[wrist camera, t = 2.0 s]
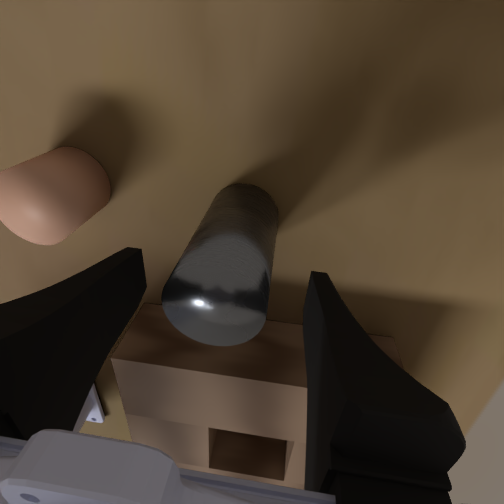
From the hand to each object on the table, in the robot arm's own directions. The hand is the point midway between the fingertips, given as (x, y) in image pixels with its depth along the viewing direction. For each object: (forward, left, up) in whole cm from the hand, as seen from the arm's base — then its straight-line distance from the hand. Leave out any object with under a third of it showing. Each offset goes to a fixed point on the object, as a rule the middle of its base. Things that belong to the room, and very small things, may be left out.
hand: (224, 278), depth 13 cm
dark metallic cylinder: (0, 0, -6) cm, 6 cm away
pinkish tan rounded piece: (-10, +1, -6) cm, 12 cm away
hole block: (+2, -17, -6) cm, 18 cm away
